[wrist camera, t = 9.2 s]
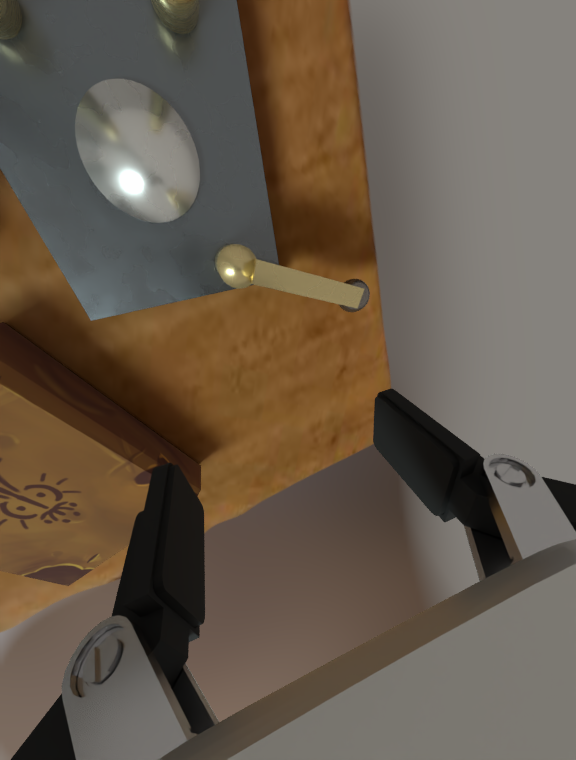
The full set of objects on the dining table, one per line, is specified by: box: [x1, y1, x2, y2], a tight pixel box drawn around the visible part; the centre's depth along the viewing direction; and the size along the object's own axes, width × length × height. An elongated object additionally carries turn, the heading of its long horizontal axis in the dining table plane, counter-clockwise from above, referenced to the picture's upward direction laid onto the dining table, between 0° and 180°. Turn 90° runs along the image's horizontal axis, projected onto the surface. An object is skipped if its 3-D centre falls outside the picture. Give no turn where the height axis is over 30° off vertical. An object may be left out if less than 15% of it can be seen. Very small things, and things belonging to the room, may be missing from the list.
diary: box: [0, 322, 201, 586], centre depth 24 cm, size 23×19×6 cm
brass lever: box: [215, 244, 370, 312], centre depth 20 cm, size 13×3×5 cm, turn 76°
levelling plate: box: [0, 0, 279, 321], centre depth 16 cm, size 18×16×5 cm
